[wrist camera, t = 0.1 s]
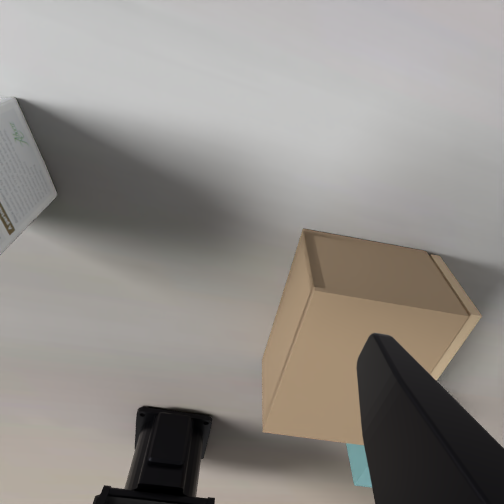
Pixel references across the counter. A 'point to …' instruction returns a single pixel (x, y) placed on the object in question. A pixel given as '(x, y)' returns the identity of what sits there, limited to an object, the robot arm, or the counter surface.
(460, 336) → the carton flap
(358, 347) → the carton
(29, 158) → the syrup box
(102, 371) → the counter surface
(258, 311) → the counter surface
